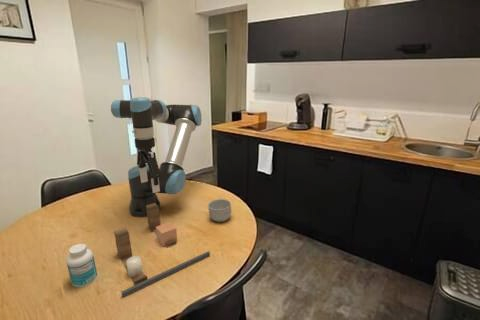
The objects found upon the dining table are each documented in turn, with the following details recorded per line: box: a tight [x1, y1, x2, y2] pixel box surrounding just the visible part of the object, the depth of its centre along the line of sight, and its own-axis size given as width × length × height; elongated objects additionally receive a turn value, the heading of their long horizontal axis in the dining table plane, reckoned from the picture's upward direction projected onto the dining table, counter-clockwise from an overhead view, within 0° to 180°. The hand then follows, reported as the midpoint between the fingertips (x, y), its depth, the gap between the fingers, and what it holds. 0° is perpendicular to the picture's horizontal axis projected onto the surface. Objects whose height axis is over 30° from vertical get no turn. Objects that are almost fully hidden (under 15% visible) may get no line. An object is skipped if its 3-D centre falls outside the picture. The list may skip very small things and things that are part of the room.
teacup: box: [207, 197, 232, 223], centre depth 126 cm, size 14×11×8 cm
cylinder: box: [126, 255, 143, 278], centre depth 88 cm, size 4×4×5 cm
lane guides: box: [120, 250, 211, 298], centre depth 97 cm, size 24×31×3 cm
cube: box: [155, 221, 178, 247], centre depth 106 cm, size 6×6×6 cm
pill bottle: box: [65, 243, 98, 288], centre depth 85 cm, size 8×7×14 cm
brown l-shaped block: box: [146, 203, 178, 248], centre depth 109 cm, size 20×4×12 cm, turn 38°
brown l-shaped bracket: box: [113, 226, 148, 286], centre depth 91 cm, size 20×4×12 cm, turn 38°
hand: (150, 186), depth 111 cm, fingers open, 13 cm apart
